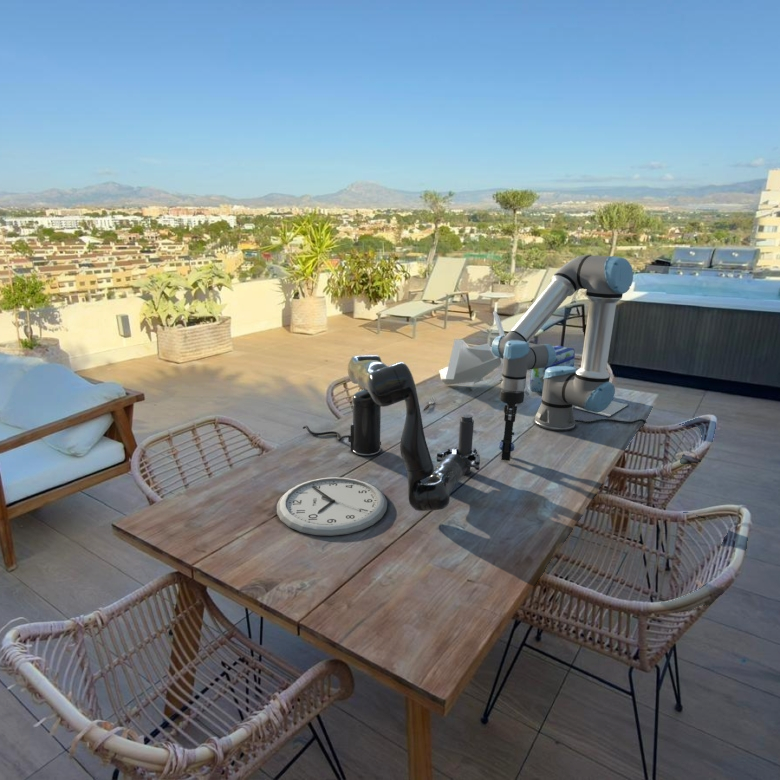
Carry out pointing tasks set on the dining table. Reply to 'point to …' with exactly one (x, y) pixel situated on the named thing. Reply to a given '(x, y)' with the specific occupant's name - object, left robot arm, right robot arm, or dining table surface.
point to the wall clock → (331, 506)
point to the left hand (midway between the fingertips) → (467, 449)
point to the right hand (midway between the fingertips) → (505, 456)
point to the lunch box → (562, 359)
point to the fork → (430, 403)
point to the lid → (502, 446)
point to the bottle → (465, 436)
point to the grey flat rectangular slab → (608, 409)
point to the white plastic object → (472, 361)
